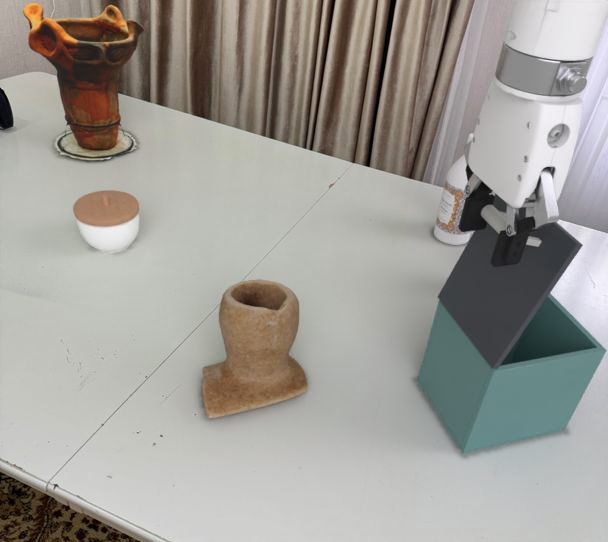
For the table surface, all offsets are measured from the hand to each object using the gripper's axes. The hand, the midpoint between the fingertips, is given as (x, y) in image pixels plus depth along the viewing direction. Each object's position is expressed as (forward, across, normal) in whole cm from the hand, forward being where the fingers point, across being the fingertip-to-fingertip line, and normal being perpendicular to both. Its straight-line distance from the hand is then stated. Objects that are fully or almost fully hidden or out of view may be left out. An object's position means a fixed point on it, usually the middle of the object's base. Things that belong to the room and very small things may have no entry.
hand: (487, 244), depth 66 cm
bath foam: (+28, +42, -25) cm, 56 cm away
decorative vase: (+27, +94, +37) cm, 105 cm away
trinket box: (+27, +52, +38) cm, 70 cm away
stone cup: (+27, +12, +23) cm, 38 cm away
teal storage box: (+27, 0, -8) cm, 29 cm away
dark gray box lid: (+4, 0, -3) cm, 6 cm away
